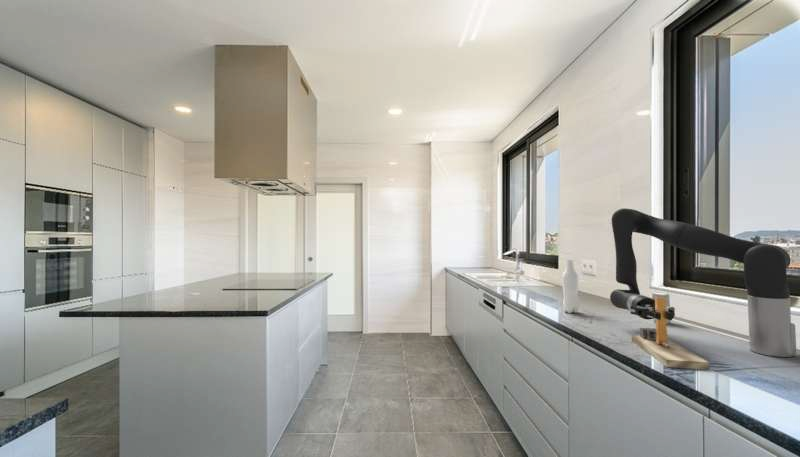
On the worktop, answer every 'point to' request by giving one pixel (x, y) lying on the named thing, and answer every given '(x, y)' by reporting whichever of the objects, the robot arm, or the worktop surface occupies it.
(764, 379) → the worktop surface
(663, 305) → the upright wooden paddle
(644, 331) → the gray rectangular block
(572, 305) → the water bottle
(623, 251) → the robot arm
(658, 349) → the rail board
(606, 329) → the worktop surface
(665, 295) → the skincare box
